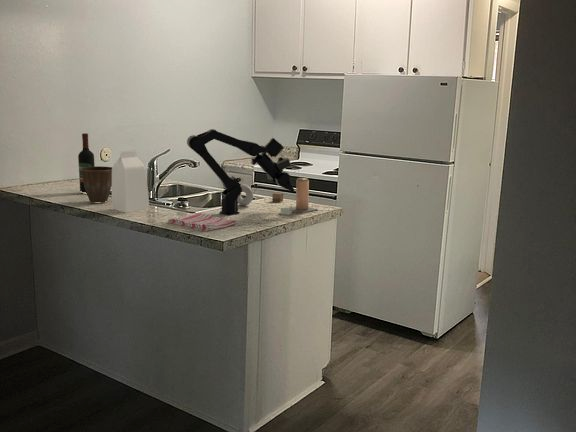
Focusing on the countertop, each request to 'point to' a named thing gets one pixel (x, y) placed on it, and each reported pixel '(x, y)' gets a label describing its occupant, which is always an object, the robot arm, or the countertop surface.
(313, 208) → the slate coaster
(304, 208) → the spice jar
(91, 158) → the wine bottle
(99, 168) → the plant pot
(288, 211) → the grey box
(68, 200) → the countertop surface
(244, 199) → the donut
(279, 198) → the walnut cube
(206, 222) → the dish towel
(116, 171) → the milk
